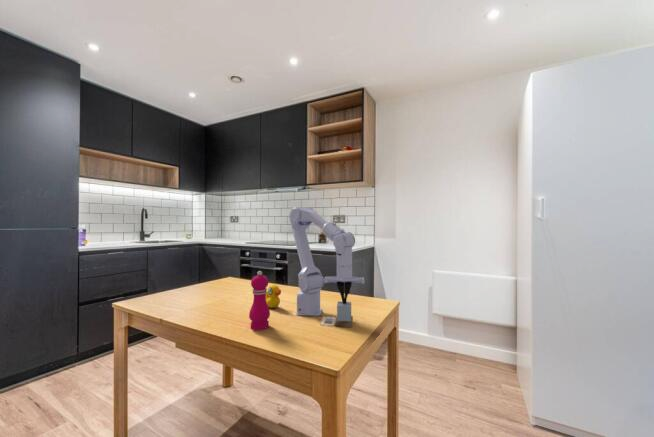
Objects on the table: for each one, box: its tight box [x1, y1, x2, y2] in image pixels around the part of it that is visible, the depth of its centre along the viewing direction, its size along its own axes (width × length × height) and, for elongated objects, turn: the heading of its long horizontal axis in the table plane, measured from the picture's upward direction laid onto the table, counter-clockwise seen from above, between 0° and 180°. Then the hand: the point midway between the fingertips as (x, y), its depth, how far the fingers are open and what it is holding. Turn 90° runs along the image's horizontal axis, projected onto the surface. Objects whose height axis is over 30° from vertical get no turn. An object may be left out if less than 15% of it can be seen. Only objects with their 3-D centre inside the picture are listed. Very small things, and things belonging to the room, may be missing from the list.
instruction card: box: [320, 316, 337, 327], centre depth 103 cm, size 5×8×1 cm, turn 174°
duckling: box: [265, 284, 282, 309], centre depth 120 cm, size 11×5×10 cm, turn 44°
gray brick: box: [336, 301, 352, 321], centre depth 100 cm, size 5×5×6 cm
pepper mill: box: [248, 270, 271, 331], centre depth 98 cm, size 7×7×20 cm
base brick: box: [335, 315, 354, 328], centre depth 101 cm, size 6×6×2 cm
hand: (344, 302), depth 101 cm, fingers closed
